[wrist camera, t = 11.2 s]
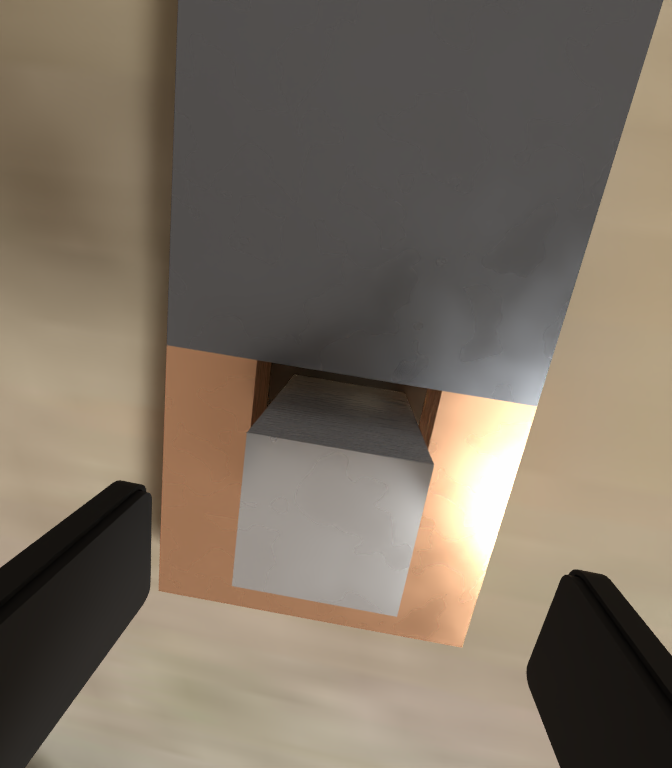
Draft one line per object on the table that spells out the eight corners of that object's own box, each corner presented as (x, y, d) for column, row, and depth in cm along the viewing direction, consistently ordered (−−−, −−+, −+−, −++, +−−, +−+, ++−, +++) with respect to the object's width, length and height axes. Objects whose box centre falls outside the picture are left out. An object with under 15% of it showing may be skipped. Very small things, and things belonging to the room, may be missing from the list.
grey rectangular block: (404, 392, 16) (434, 465, 10) (383, 491, 18) (397, 616, 11) (294, 374, 16) (246, 432, 10) (282, 473, 18) (231, 586, 11)
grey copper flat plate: (765, -502, 10) (902, -770, 7) (449, 601, 19) (461, 647, 16) (243, -547, 10) (204, -815, 8) (184, 553, 19) (158, 590, 17)
